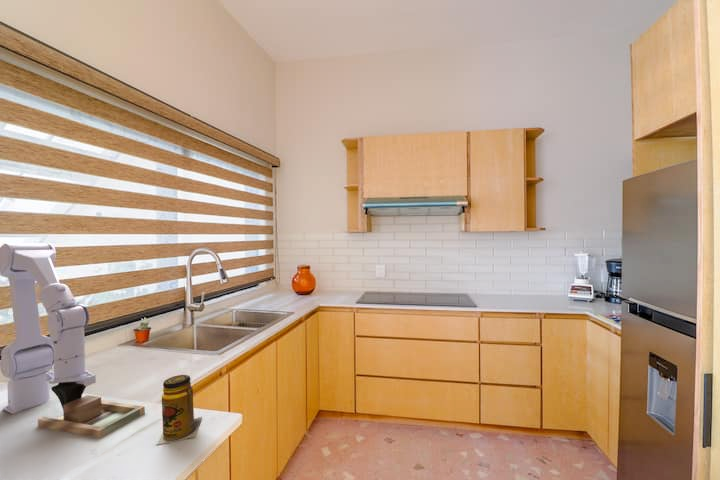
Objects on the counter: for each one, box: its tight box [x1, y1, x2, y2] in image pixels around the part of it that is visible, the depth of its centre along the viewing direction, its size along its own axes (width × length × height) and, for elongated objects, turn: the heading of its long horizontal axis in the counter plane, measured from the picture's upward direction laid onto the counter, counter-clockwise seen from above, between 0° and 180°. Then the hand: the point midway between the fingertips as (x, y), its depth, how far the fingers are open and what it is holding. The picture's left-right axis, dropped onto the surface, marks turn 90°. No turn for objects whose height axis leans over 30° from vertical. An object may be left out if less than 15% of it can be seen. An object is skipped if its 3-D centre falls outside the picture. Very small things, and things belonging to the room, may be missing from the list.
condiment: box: [156, 374, 203, 445], centre depth 72 cm, size 7×8×12 cm
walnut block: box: [62, 394, 102, 423], centre depth 77 cm, size 5×5×4 cm
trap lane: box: [37, 399, 146, 439], centre depth 76 cm, size 20×10×2 cm, turn 73°
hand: (71, 411), depth 78 cm, fingers closed
